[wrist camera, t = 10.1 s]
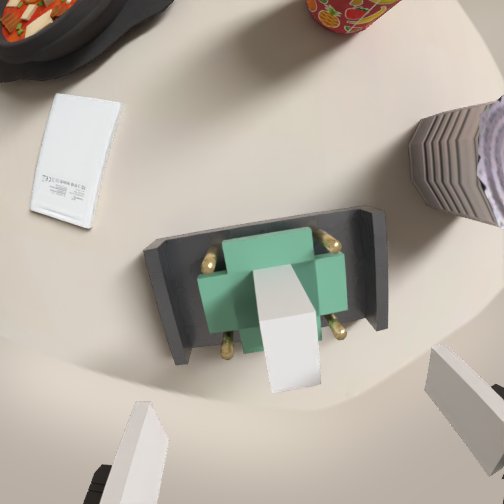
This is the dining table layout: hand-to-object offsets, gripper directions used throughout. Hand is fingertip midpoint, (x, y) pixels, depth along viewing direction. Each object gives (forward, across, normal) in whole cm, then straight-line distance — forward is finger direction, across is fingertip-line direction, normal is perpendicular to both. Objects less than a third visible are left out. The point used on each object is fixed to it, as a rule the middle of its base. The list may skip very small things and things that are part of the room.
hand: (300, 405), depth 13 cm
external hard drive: (+19, -17, +15) cm, 30 cm away
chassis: (+18, +1, 0) cm, 18 cm away
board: (+14, 0, 0) cm, 15 cm away
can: (+18, +22, +9) cm, 29 cm away
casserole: (+19, -15, +33) cm, 41 cm away
